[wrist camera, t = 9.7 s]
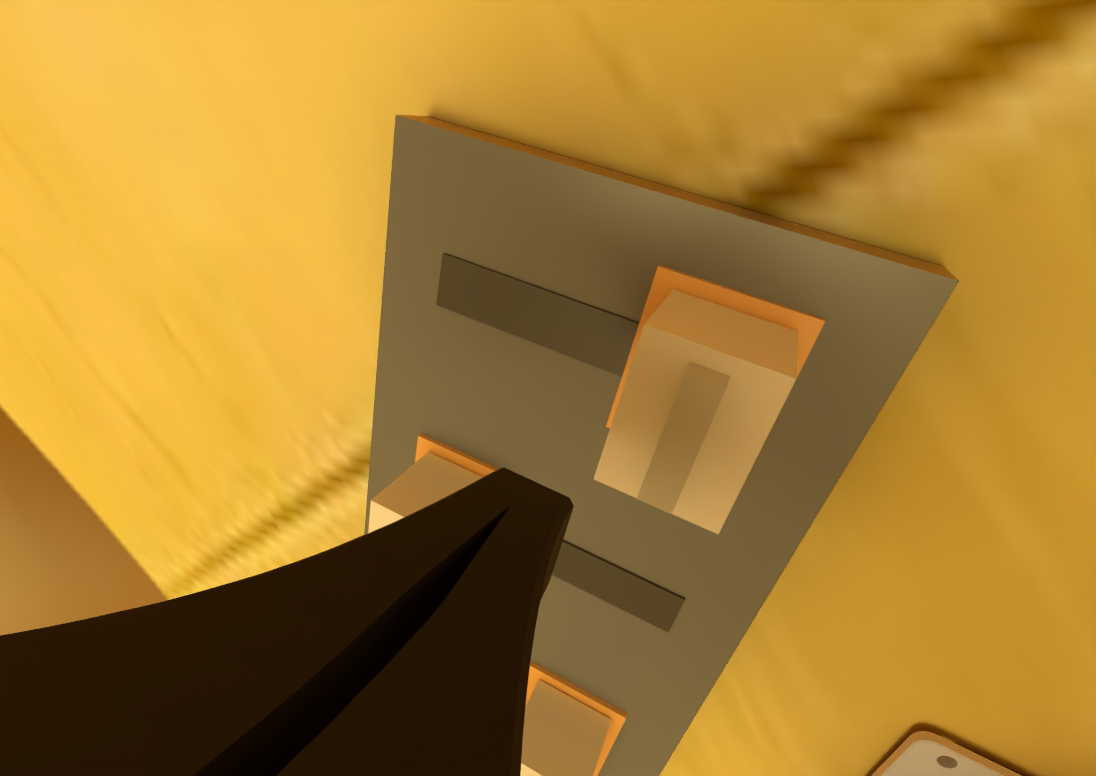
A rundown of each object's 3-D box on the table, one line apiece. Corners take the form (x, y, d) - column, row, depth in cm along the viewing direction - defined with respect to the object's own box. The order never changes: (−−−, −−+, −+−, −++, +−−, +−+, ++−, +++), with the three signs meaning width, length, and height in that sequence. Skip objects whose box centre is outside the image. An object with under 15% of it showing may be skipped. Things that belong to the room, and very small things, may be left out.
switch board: (943, 266, 13) (961, 283, 11) (637, 789, 24) (627, 830, 23) (427, 116, 16) (391, 114, 15) (375, 637, 28) (352, 664, 26)
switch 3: (797, 331, 13) (796, 390, 10) (732, 466, 15) (714, 549, 12) (673, 289, 14) (637, 332, 11) (627, 423, 16) (585, 491, 13)
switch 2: (611, 719, 21) (578, 818, 18) (584, 775, 22) (551, 872, 20) (538, 679, 21) (495, 768, 18) (519, 736, 23) (477, 824, 20)
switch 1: (505, 487, 18) (447, 557, 15) (486, 571, 20) (431, 648, 17) (428, 451, 19) (358, 510, 16) (416, 536, 21) (352, 603, 18)
